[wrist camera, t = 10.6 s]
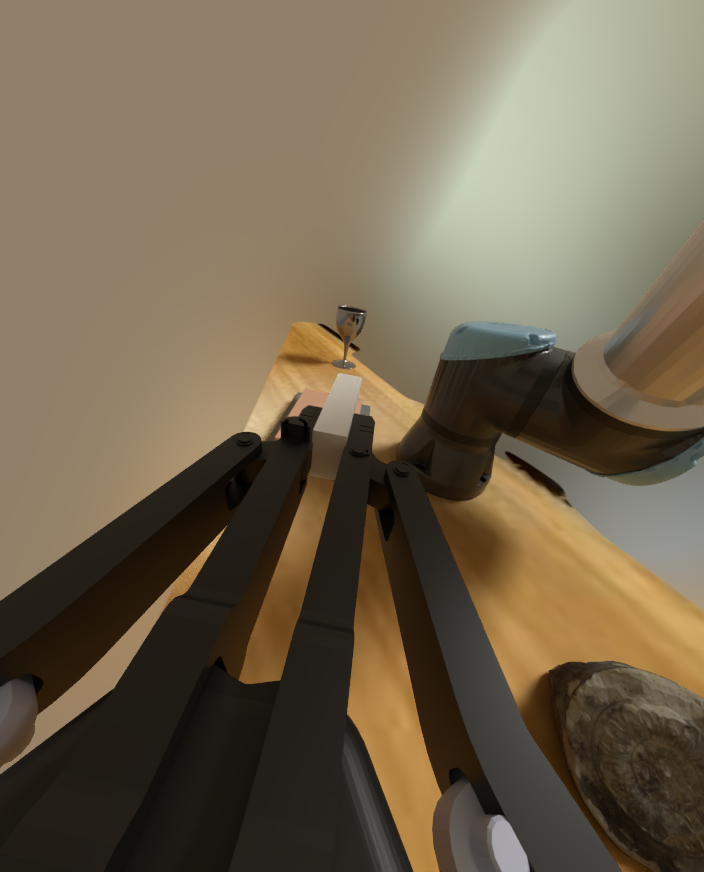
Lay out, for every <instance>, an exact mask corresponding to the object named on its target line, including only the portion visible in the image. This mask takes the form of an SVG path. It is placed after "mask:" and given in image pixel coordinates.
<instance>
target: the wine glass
mask: <svg viewBox="0 0 704 872" xmlns="http://www.w3.org/2000/svg"><path fill="white" fill-rule="evenodd" d="M366 314H367V311H366V310H363V309H360V308H357V307H352V306H344V305H340V306H337V311H336V326H337V330H338V332H339V334H340V336H341V337H342V339H343V341H344V358H343V360H340V359H339V360H334V361H332V364H333V365H334V366H336V367H339V368H343V369H353V368H355V367H356V365H355V364H354V363H353V362H351V361H347V360H346V356H347V351H348V348H349V345H350V343H351V342H352V341H353V340H354V339H355V338H356V337H357V336H358V335H359V334H360V333H361V331H362V329H363V327H364V323H365V319H366Z"/></svg>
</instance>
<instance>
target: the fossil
mask: <svg viewBox="0 0 704 872" xmlns="http://www.w3.org/2000/svg"><path fill="white" fill-rule="evenodd" d="M549 679H550V682H551V684H552V688H553V694H552V706H553V711H554V715H555V719H556V722H557V727H558V731H559V736H560V739H561V741H562V744H563V748H564V752H565V757H566V761H567V766H568V770H569V773H570V776H571V778H572V781H573V783H574V785H575V787H576V789H577V790H578V792H579V794H580V796H581V798H582V799H583V801H584V803H585V805H586V806H587V808H588V810H589V811H590V812H591V814H592V815H593V816H594V818H595V819H596V820H597V822H598V823H599V825H600V826H601V827H602V829H603V830H604V831H605V833H606V834H607V835H608V837H609V838H610V839H611V840H612V841H613V842H614V843H615V845H616V846H617V847H618V848H619V849H620V850H621V851H622V852H624V853H625V854H627V855H628V856H630V857H631V858H633V859H635V860H636V861H638V862H640V863H641V864H643V865H645V866H646V867H648V868H649V869H650V870H651V871H652V872H704V698H702V697H700V696H699V695H697V694H695V693H693V692H692V691H690V690H688V689H686V688H684V687H682V686H680V685H678V684H677V683H675V682H673V681H671V680H669V679H667V678H664V677H661V676H658V675H656V674H654V673H651V672H648V671H645V670H642V669H637V668H634V667H632V666H630V665H627V664H624V663H620V662H615V661H604V662H588V663H583V662H567V663H565V664H562V665H558V666H557V667H555V668H553V669H552V670H549Z"/></svg>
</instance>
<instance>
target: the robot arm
mask: <svg viewBox="0 0 704 872" xmlns="http://www.w3.org/2000/svg"><path fill="white" fill-rule="evenodd" d="M556 337H557V336H556V334H555V333H554V332H552V331H550V330H544V329H539V328H536V327H531V326H524V325H517V324H508V323H497V322H467V323H463V324H460V325H458V326H457V327H455V328H454V329H453V331H452V332H451V334H450V336H449V339H448V341H447V344H446V346H445V349H444V351H443V353H441V355H440V362H439V365H438V368H437V370H436V373H435V376H434V379H433V382H432V385H431V388H430V391H429V394H428V397H427V399H426V402H425V405H424V408H423V411H422V414H421V416H420V418H419V419H418V420H417V421H416V423H415V424H414V425H413V426H412V427H411V429H410V430H409V431H408V432H407V434H406V435H405V436H404V437H403V439H402V440H401V442H400V445H399V448H398V451H397V461H392V462H390V463H389V464H385V463H383V462H381V461H379V460H378V459H377V458H375V456H374V455H373V453H372V443H373V435H374V426H375V421H374V420H373V418H372V416H366V415H361V414H356V409H357V404H358V398H359V392H360V387H361V381H362V377H357V376H351V375H346V374H341V373H338V376H337V378H336V380H335V382H334V384H333V387H332V389H331V391H330V393H329V396H328V398H327V400H326V402H325V404H324V407H323V408H322V407H316V406H311V405H308V406H307V407H305V408H303V409H302V411H301V413H300V415H299V416H291V417H287V418H284V419H283V420H282V421H281V437H280V439H279V440H276V441H261V437H260V436H259V435H258V434H256V433H252V432H241V433H237V434H235V435H233V436H231V437H230V438H229V439H227V440H226V441H224V442H223V443H222V444H220V445H219V446H217V447H216V448H215V449H213V450H212V451H210V452H209V453H208V454H206V455H205V456H203V457H202V458H201V459H199V460H198V461H196V462H195V463H194V464H192V465H191V466H189V467H188V468H186V469H185V470H184V471H182V472H181V473H179V474H178V475H177V476H175V477H174V478H172V479H171V480H170V481H168V482H167V483H165V484H164V485H163V486H161V487H160V488H158V489H157V490H156V491H154V492H153V493H152V494H150V495H149V496H147V497H146V498H145V499H143V500H142V501H140V502H139V503H137V504H136V505H134V506H133V507H132V508H130V509H129V510H127V511H126V512H125V513H123V514H122V515H120V516H119V517H118V518H116V519H115V520H113V521H112V522H111V523H109V524H108V525H106V526H105V527H104V528H102V529H101V530H100V531H98V532H97V533H95V534H94V535H92V536H91V537H90V538H88V539H87V540H85V541H84V542H82V543H81V544H80V545H78V546H77V547H75V548H74V549H73V550H71V551H70V552H69V553H67V554H66V555H65V556H63V557H62V558H60V559H59V560H58V561H56V562H54V563H53V564H52V565H50V566H49V567H47V568H46V569H45V570H43V571H42V572H40V573H39V574H38V575H36V576H35V577H33V578H32V579H31V580H29V581H28V582H26V583H25V584H23V585H22V586H21V587H19V588H18V589H16V590H15V591H14V592H12V593H11V594H10V595H8V596H7V597H5V598H4V599H3V600H1V601H0V767H1V766H2V765H3V764H5V763H7V762H10V761H12V760H13V759H14V758H16V757H17V756H18V755H19V754H21V753H22V752H23V750H24V749H25V748H26V747H27V745H28V744H29V743H30V741H31V739H32V737H33V735H34V732H35V731H34V730H35V725H34V724H35V720H36V717H37V715H38V714H39V713H40V712H42V711H43V710H44V709H46V708H47V707H48V706H49V705H51V704H52V703H53V702H54V701H56V700H57V699H58V698H59V697H60V696H62V695H63V694H64V693H65V692H66V691H67V690H68V689H69V688H70V687H72V686H73V685H74V684H75V683H76V682H77V681H79V680H80V679H81V678H82V677H83V676H84V675H85V674H86V673H87V672H88V671H89V670H90V669H91V668H92V667H93V666H94V665H95V664H96V663H97V662H98V661H99V660H100V659H101V658H102V657H103V656H104V655H105V654H106V653H107V652H108V651H109V650H110V649H111V647H113V646H114V644H115V643H116V642H117V641H118V640H119V639H120V638H121V637H122V636H123V635H124V634H125V633H126V632H127V631H128V630H129V629H130V627H131V626H132V625H133V624H134V623H135V622H136V621H137V620H138V619H139V618H140V617H141V616H142V615H143V614H144V613H145V612H146V610H147V609H148V608H149V607H150V606H151V605H152V604H153V603H154V602H155V601H156V600H157V599H158V598H159V597H160V596H161V595H162V594H163V593H164V591H165V590H166V589H167V588H168V587H169V586H170V585H171V584H172V583H173V582H174V581H175V580H176V579H177V578H178V577H179V576H180V575H181V574H182V572H183V571H184V570H185V569H186V568H187V567H188V566H189V565H190V564H191V563H192V562H193V561H194V560H195V559H196V558H197V557H198V556H199V554H200V553H201V552H202V551H203V550H204V549H205V548H206V547H207V546H208V545H209V544H210V543H211V542H212V541H213V540H214V539H215V538H216V536H217V535H218V534H219V533H220V532H221V531H222V530H223V529H224V528H225V527H226V526H227V527H226V529H225V530H224V532H223V534H222V535H221V537H220V539H219V540H218V542H217V544H216V545H215V547H214V549H213V550H212V552H211V554H210V555H209V557H208V559H207V560H206V562H205V564H204V565H203V567H202V569H201V570H200V572H199V574H198V575H197V577H196V579H195V580H194V582H193V584H192V585H191V587H190V588H189V590H188V591H187V592H186V593H185V594H183V595H180V596H177V597H175V598H174V599H173V600H172V601H171V602H170V603H169V604H168V606H167V607H166V608H165V610H164V611H163V612H162V614H161V616H160V617H159V619H158V620H157V622H156V623H155V625H154V627H153V628H152V630H151V631H150V633H149V634H148V636H147V638H146V639H145V641H144V642H143V644H142V645H141V647H140V649H139V650H138V652H137V654H136V655H135V656H134V658H133V659H132V661H131V663H130V664H129V666H128V667H127V669H126V670H125V672H124V674H123V675H122V677H121V678H120V680H119V681H118V683H117V685H116V686H115V688H114V689H113V690H111V691H110V692H108V693H107V694H106V695H104V696H103V697H102V698H100V699H99V700H98V701H97V702H95V703H94V704H93V705H91V706H90V707H89V708H87V709H86V710H85V711H84V712H82V713H81V714H79V716H77V717H75V718H74V719H73V720H72V721H70V722H69V723H68V724H66V725H65V726H64V727H62V728H61V729H60V730H58V731H57V732H56V733H54V734H53V735H52V736H51V737H49V738H48V739H46V740H45V741H44V742H43V743H41V744H40V745H39V746H37V747H36V748H35V749H33V750H32V751H31V752H29V753H28V754H27V755H25V756H24V757H23V758H21V759H20V760H19V761H17V762H16V763H15V764H14V765H12V766H11V767H10V768H8V769H7V770H6V771H4V772H3V773H2V774H0V872H413V869H412V867H411V864H410V861H409V859H408V856H407V854H406V851H405V848H404V846H403V843H402V840H401V838H400V835H399V832H398V830H397V827H396V825H395V822H394V819H393V817H392V814H391V811H390V809H389V806H388V803H387V801H386V798H385V795H384V793H383V790H382V788H381V785H380V782H379V780H378V777H377V774H376V772H375V769H374V766H373V764H372V761H371V758H370V756H369V753H368V750H367V748H366V745H365V743H364V741H363V739H362V737H361V735H360V733H359V731H358V729H357V727H356V726H355V724H354V723H353V721H352V720H351V718H350V717H349V716H348V715H347V706H348V697H349V687H350V678H351V668H352V658H353V648H354V630H353V627H354V616H355V607H356V598H357V589H358V580H359V571H360V562H361V553H362V544H363V535H364V526H365V517H366V508H367V504H368V505H370V506H372V507H374V508H375V515H376V520H377V524H378V529H379V534H380V538H381V543H382V548H383V552H384V557H385V562H386V566H387V571H388V576H389V581H390V585H391V590H392V595H393V599H394V604H395V609H396V613H397V618H398V623H399V627H400V632H401V637H402V641H403V646H404V651H405V655H406V660H407V665H408V670H409V674H410V679H411V684H412V688H413V693H414V698H415V702H416V707H417V712H418V716H419V721H420V725H421V729H422V733H423V737H424V741H425V745H426V749H427V753H428V756H429V759H430V762H431V765H432V768H433V771H434V774H435V777H436V780H437V784H438V786H439V789H440V791H441V794H442V796H441V798H440V799H439V801H438V802H437V805H436V808H435V811H434V816H433V827H432V831H433V844H434V850H435V854H436V858H437V862H438V867H439V871H440V872H622V871H621V869H620V868H619V866H618V865H617V863H616V862H615V860H614V859H613V857H612V856H611V854H610V853H609V851H608V850H607V848H606V847H605V845H604V844H603V842H602V841H601V839H600V838H599V836H598V835H597V833H596V832H595V830H594V829H593V827H592V826H591V824H590V823H589V821H588V820H587V818H586V817H585V815H584V814H583V812H582V811H581V809H580V808H579V806H578V805H577V803H576V802H575V800H574V799H573V797H572V796H571V794H570V793H569V791H568V790H567V788H566V787H565V785H564V784H563V782H562V781H561V779H560V778H559V776H558V775H557V773H556V772H555V770H554V769H553V767H552V766H551V764H550V763H549V761H548V760H547V758H546V757H545V755H544V754H543V752H542V751H541V749H540V748H539V746H538V745H537V743H536V742H535V740H534V739H533V737H532V736H531V734H530V733H529V731H528V730H527V728H526V726H525V723H524V721H523V719H522V716H521V714H520V712H519V709H518V707H517V705H516V702H515V700H514V697H513V695H512V693H511V690H510V688H509V686H508V683H507V681H506V679H505V676H504V674H503V672H502V669H501V667H500V665H499V662H498V660H497V658H496V655H495V653H494V651H493V648H492V646H491V644H490V641H489V639H488V637H487V634H486V632H485V630H484V627H483V625H482V623H481V620H480V618H479V616H478V613H477V611H476V609H475V606H474V604H473V602H472V599H471V597H470V595H469V592H468V590H467V588H466V585H465V583H464V581H463V578H462V576H461V574H460V571H459V569H458V567H457V564H456V562H455V560H454V557H453V555H452V553H451V550H450V548H449V546H448V543H447V541H446V539H445V536H444V534H443V532H442V529H441V527H440V525H439V522H438V520H437V518H436V515H435V513H434V511H433V508H432V506H431V504H430V501H429V499H428V497H427V494H426V492H425V490H426V491H428V492H430V493H433V494H435V495H438V496H441V497H444V498H449V499H456V500H465V499H471V498H474V497H477V496H478V495H480V494H481V493H482V492H483V491H484V489H485V488H486V486H487V484H488V483H489V481H490V478H491V474H492V467H493V460H494V453H495V446H496V443H497V442H498V440H499V438H500V436H501V434H502V433H504V434H506V435H508V436H510V437H513V438H516V439H518V440H520V441H522V442H525V443H527V444H529V445H532V446H534V447H536V448H539V449H541V450H543V451H545V452H547V453H549V454H552V455H554V456H556V457H559V458H561V459H563V460H565V461H568V462H570V463H572V464H574V465H576V466H579V467H581V468H583V469H585V470H586V471H588V472H590V473H592V474H594V475H597V476H600V477H607V478H609V479H612V480H614V481H617V482H619V483H623V484H627V485H632V486H647V485H653V484H657V483H661V482H665V481H668V480H670V479H673V478H675V477H677V476H679V475H681V474H683V473H685V472H687V471H688V470H690V469H692V468H693V467H695V466H696V465H697V461H698V459H699V458H700V457H702V456H704V220H703V221H702V222H701V224H700V225H699V226H698V227H697V229H696V230H695V231H694V232H693V234H692V235H691V236H690V237H689V239H688V240H687V241H686V242H685V244H684V245H683V246H682V248H681V249H680V250H679V252H678V253H677V254H676V255H675V256H674V258H673V259H672V260H671V261H670V263H669V264H668V265H667V266H666V268H665V269H664V270H663V271H662V273H661V274H660V275H659V277H658V278H657V279H656V280H655V282H654V283H653V284H652V285H651V287H650V288H649V289H648V290H647V292H646V293H645V294H644V296H643V297H642V298H641V299H640V301H639V302H638V303H637V304H636V306H635V307H634V308H633V309H632V311H631V312H630V313H629V314H628V316H627V317H626V318H625V320H624V321H623V322H622V323H621V325H620V326H619V327H618V329H617V330H615V331H611V332H607V333H604V334H601V335H599V336H596V337H594V338H592V339H590V340H589V341H587V342H586V343H585V344H584V345H583V346H582V347H581V348H580V349H579V350H578V352H577V353H575V352H571V351H566V350H562V349H559V348H556V347H553V346H554V345H555V344H556ZM309 471H310V475H309V476H312V477H317V478H322V479H327V480H332V481H335V483H334V487H333V490H332V494H331V498H330V502H329V506H328V510H327V513H326V517H325V521H324V525H323V529H322V533H321V536H320V540H319V544H318V548H317V552H316V556H315V559H314V563H313V567H312V571H311V575H310V579H309V582H308V586H307V590H306V594H305V598H304V602H303V605H302V609H301V613H300V616H299V619H298V621H297V623H296V626H295V629H294V633H293V636H292V640H291V644H290V647H289V651H288V655H287V659H286V662H285V666H284V670H283V674H282V677H281V680H280V681H272V682H264V683H257V684H244V683H242V682H240V681H239V680H238V679H239V677H240V674H241V671H242V668H243V664H244V660H245V656H246V650H247V646H248V642H249V639H250V636H251V633H252V631H253V628H254V625H255V623H256V620H257V617H258V615H259V612H260V609H261V606H262V604H263V601H264V598H265V596H266V593H267V590H268V587H269V585H270V582H271V579H272V577H273V574H274V571H275V569H276V566H277V563H278V560H279V558H280V555H281V552H282V550H283V547H284V544H285V541H286V539H287V536H288V533H289V531H290V528H291V525H292V523H293V520H294V517H295V514H296V512H297V509H298V506H299V504H300V501H301V498H302V496H303V493H304V490H305V487H306V485H307V476H308V473H309Z"/></svg>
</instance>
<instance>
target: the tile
mask: <svg viewBox="0 0 704 872" xmlns="http://www.w3.org/2000/svg"><path fill="white" fill-rule="evenodd" d="M328 396H329V393H326V392H321V391H315V390H310V389H304V391H303V392H302V394H301V396H300V397H299V399H298V401H297V402H296V404H295V405H294V407H293V409H292V410H291V412H290V414H289V415H288V417H291V416H299V415H300V413H301V411H302V409H303V408H305V407H307V406H308V405H311V406H316V407H322V408H323V407H324V404H325V402H326V400H327V398H328ZM361 406H362V399H358V404H357V409H356V414H360V411H361ZM280 437H281V428H280V430H279V431H278V433H277V435H276V436H275V441H276V440H279V439H280Z"/></svg>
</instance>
